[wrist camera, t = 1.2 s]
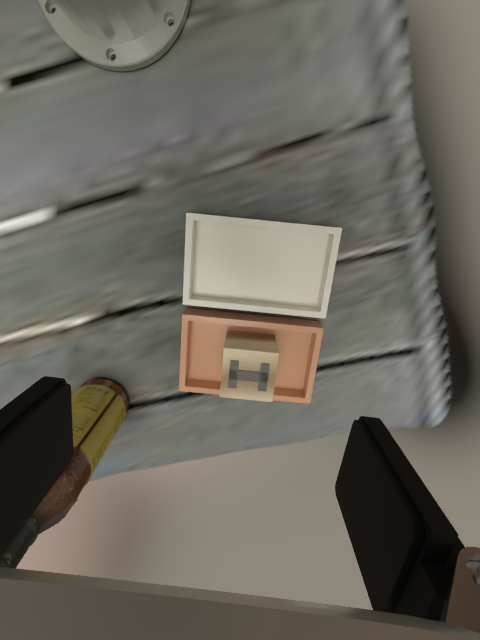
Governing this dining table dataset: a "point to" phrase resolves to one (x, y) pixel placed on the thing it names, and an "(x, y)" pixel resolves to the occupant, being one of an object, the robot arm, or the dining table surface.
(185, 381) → the tray
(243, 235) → the tray
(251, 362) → the letter cube
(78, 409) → the sauce bottle
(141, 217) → the dining table surface
